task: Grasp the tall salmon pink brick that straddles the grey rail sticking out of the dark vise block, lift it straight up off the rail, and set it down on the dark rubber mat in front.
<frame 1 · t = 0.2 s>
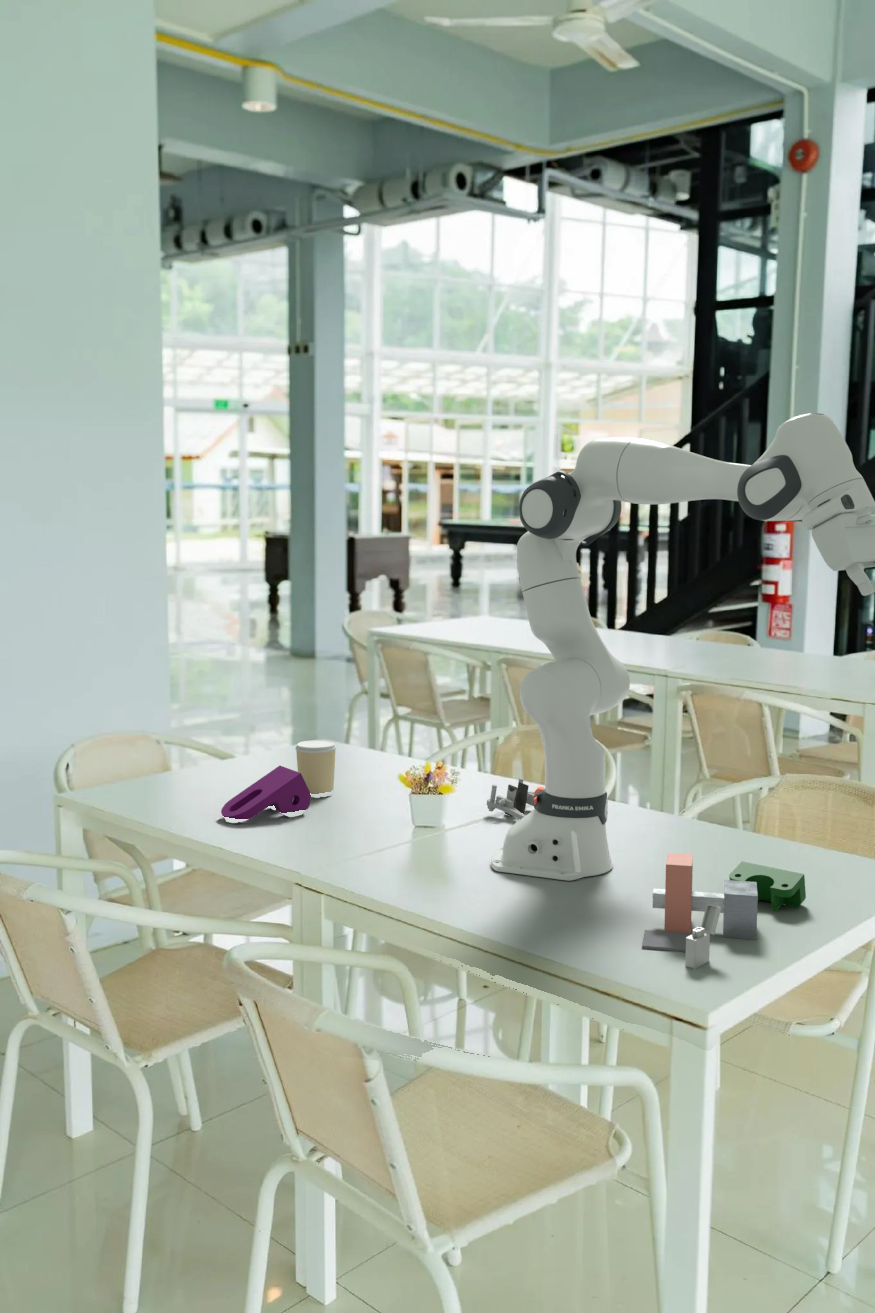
tall salmon pink brick: (678, 926, 190), on the table
lighter: (702, 962, 176), on the table
bike brake: (535, 820, 255), on the table
mounting bracket: (262, 818, 258), on the table
vise: (719, 929, 188), on the table
coffee cup: (316, 795, 277), on the table
mat: (666, 942, 183), on the table
clamp: (765, 905, 200), on the table
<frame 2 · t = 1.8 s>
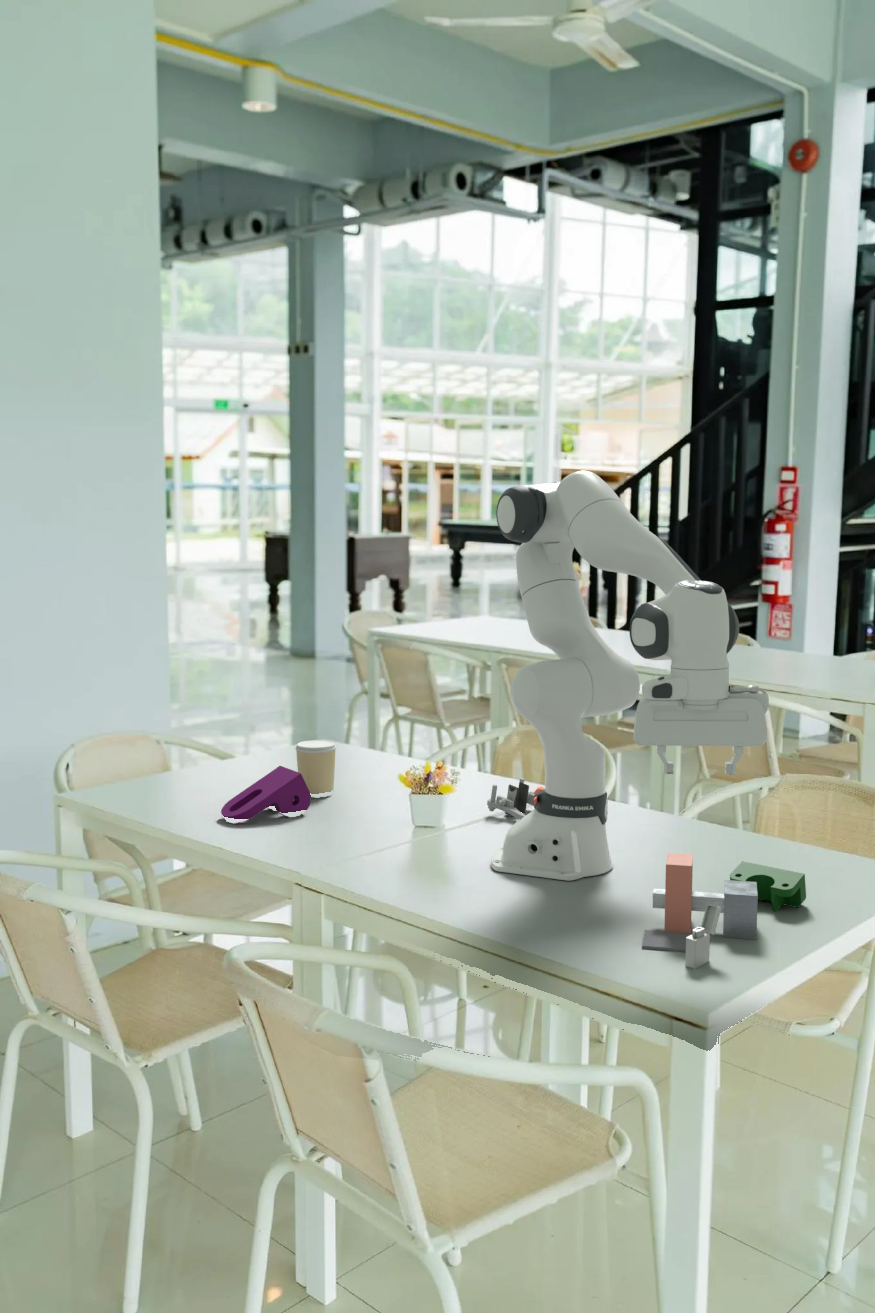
hand: (699, 773, 185), 25 cm above the table, tool pointing down, fingers open, 8 cm apart
nothing on the table moved.
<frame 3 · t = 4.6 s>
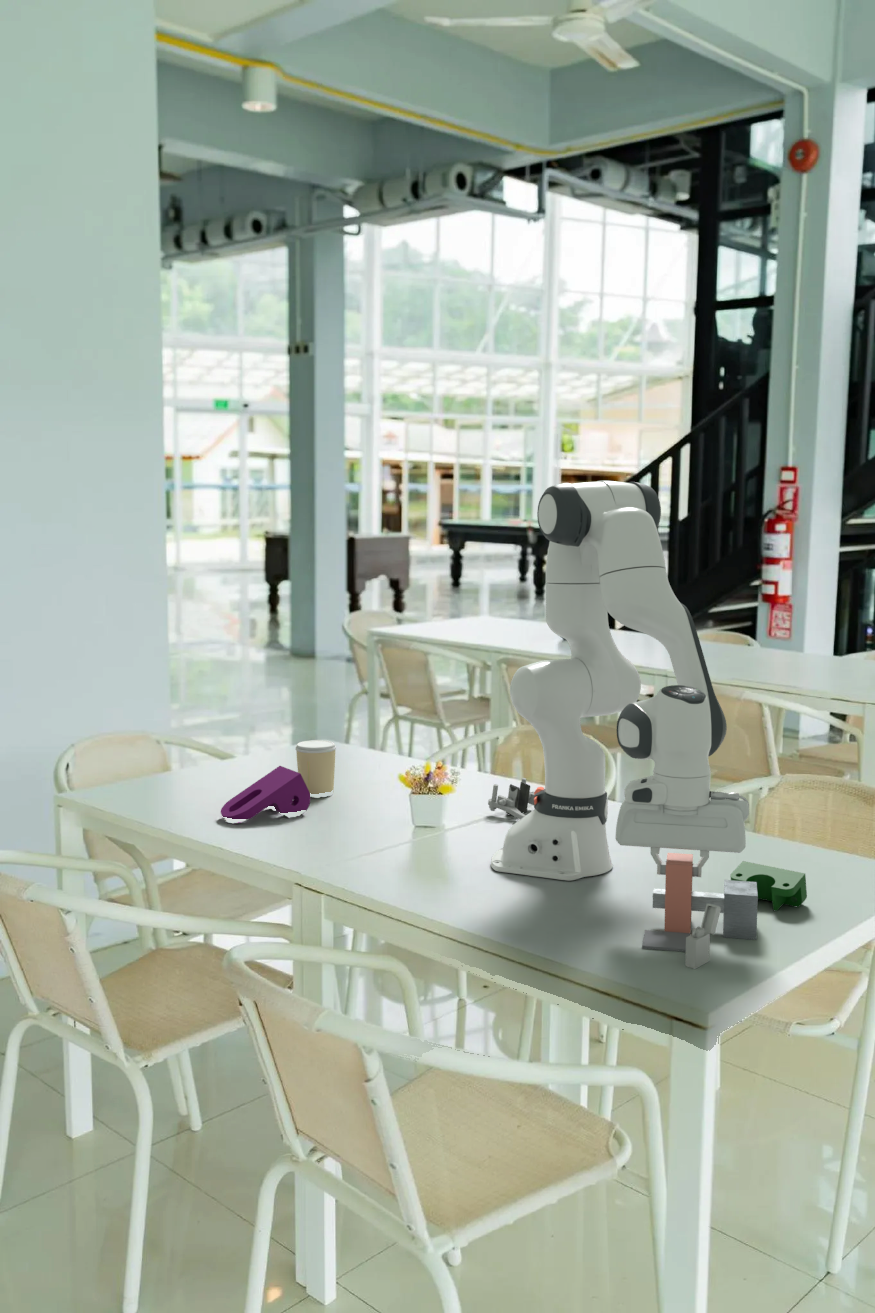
hand: (679, 875, 189), 8 cm above the table, tool pointing down, fingers closed on tall salmon pink brick, 4 cm apart
tall salmon pink brick: (678, 926, 190), on the table, touching gripper
everything else where it was.
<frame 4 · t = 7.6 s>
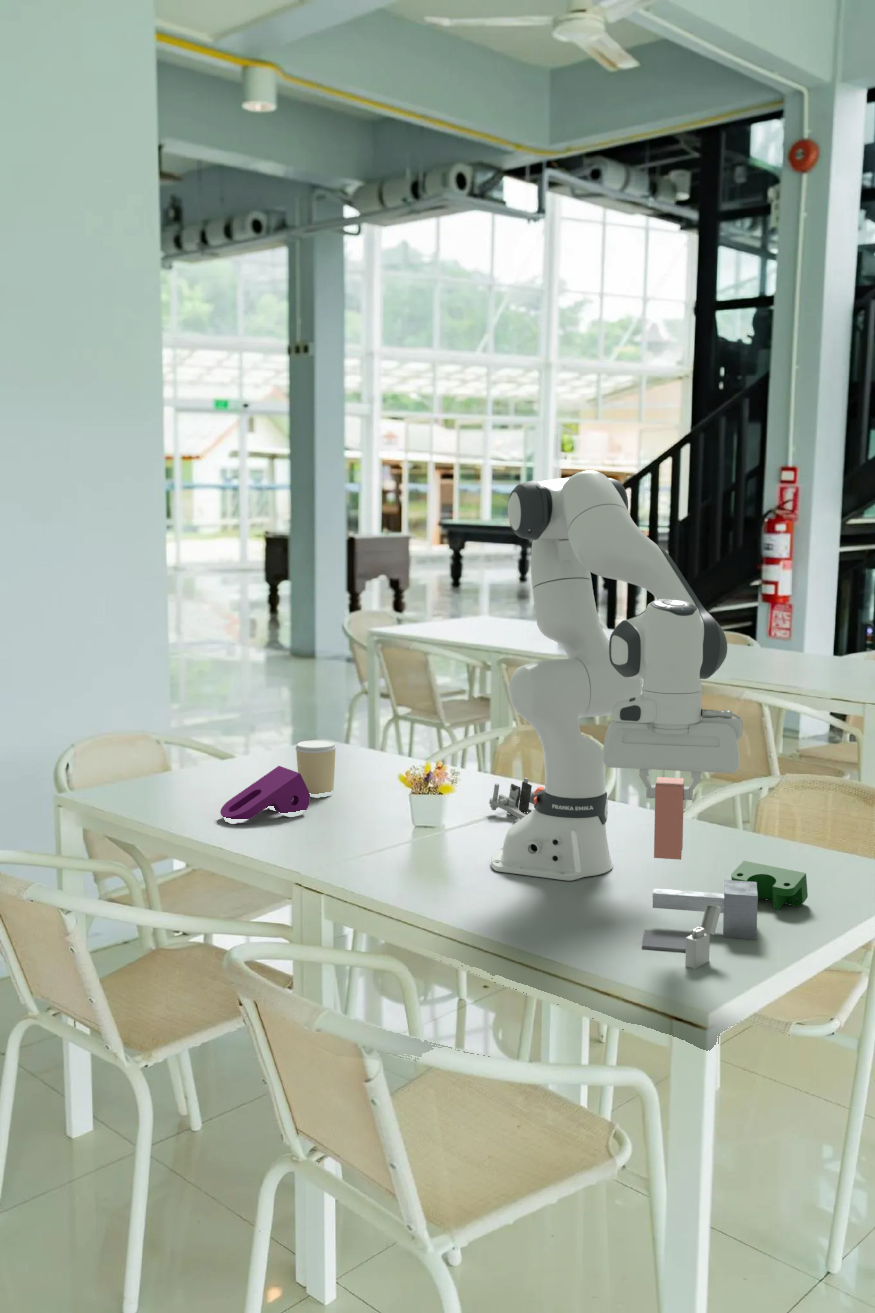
hand: (669, 798, 180), 23 cm above the table, tool pointing down, fingers closed on tall salmon pink brick, 4 cm apart
tall salmon pink brick: (668, 852, 181), point 14 cm above the table, touching gripper
everything else where it was.
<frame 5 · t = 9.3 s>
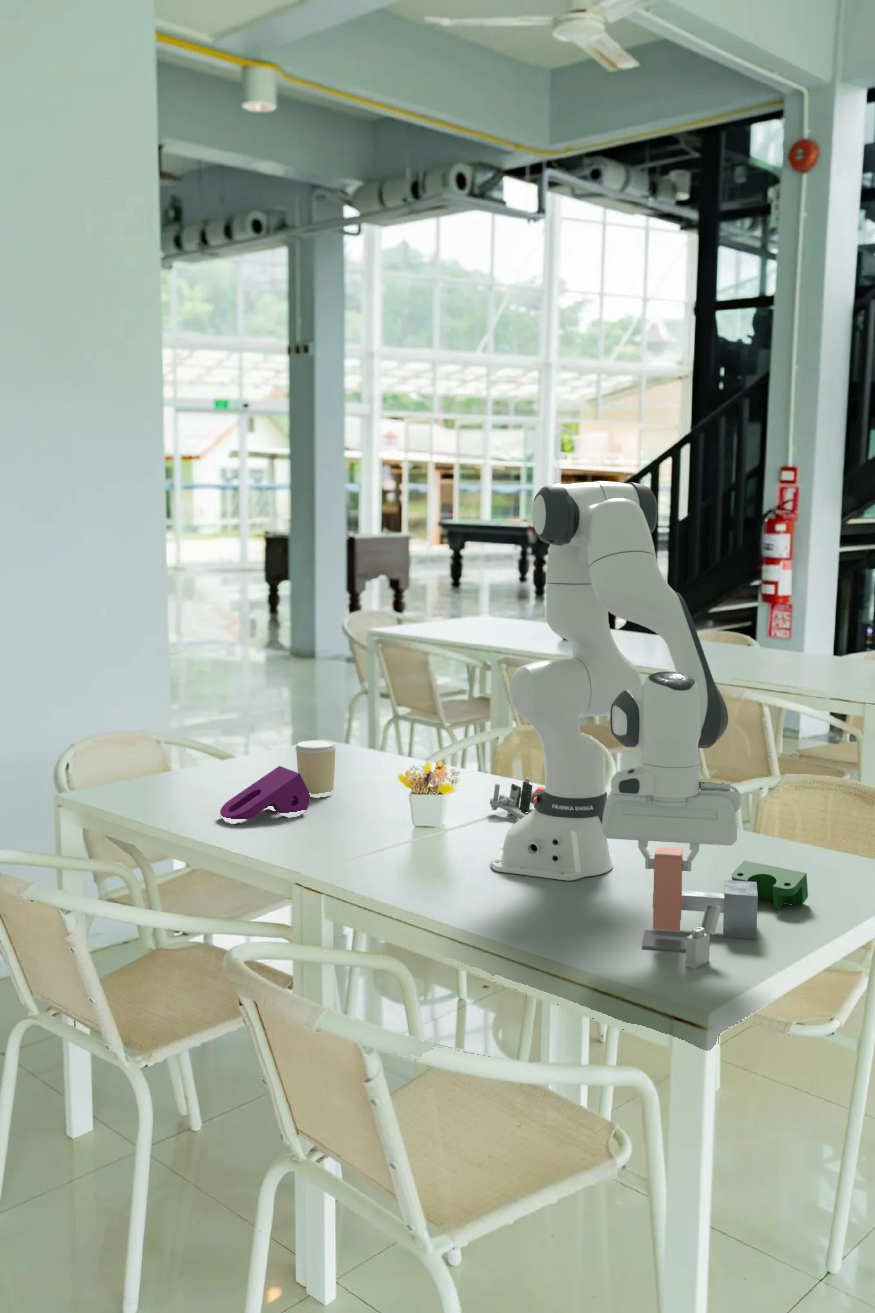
hand: (668, 869, 181), 12 cm above the table, tool pointing down, fingers closed on tall salmon pink brick, 4 cm apart
tall salmon pink brick: (667, 923, 182), point 3 cm above the table, touching gripper
everything else where it was.
when the fingers open (10 cm above the table, at t = 10.5 s): tall salmon pink brick stays where it is, resting on mat.
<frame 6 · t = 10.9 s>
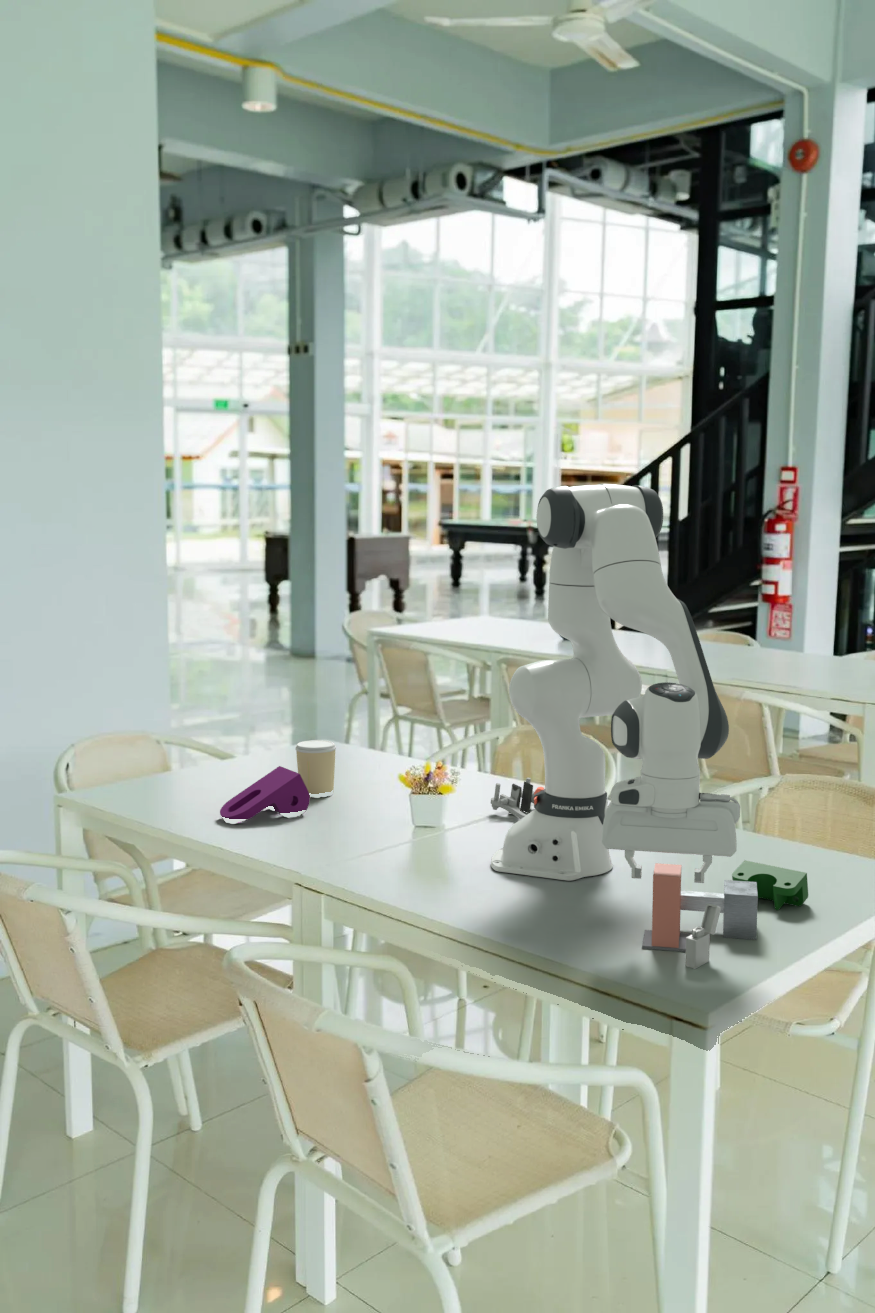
hand: (667, 879, 182), 10 cm above the table, tool pointing down, fingers open, 8 cm apart
tall salmon pink brick: (666, 939, 183), resting on mat
everything else where it was.
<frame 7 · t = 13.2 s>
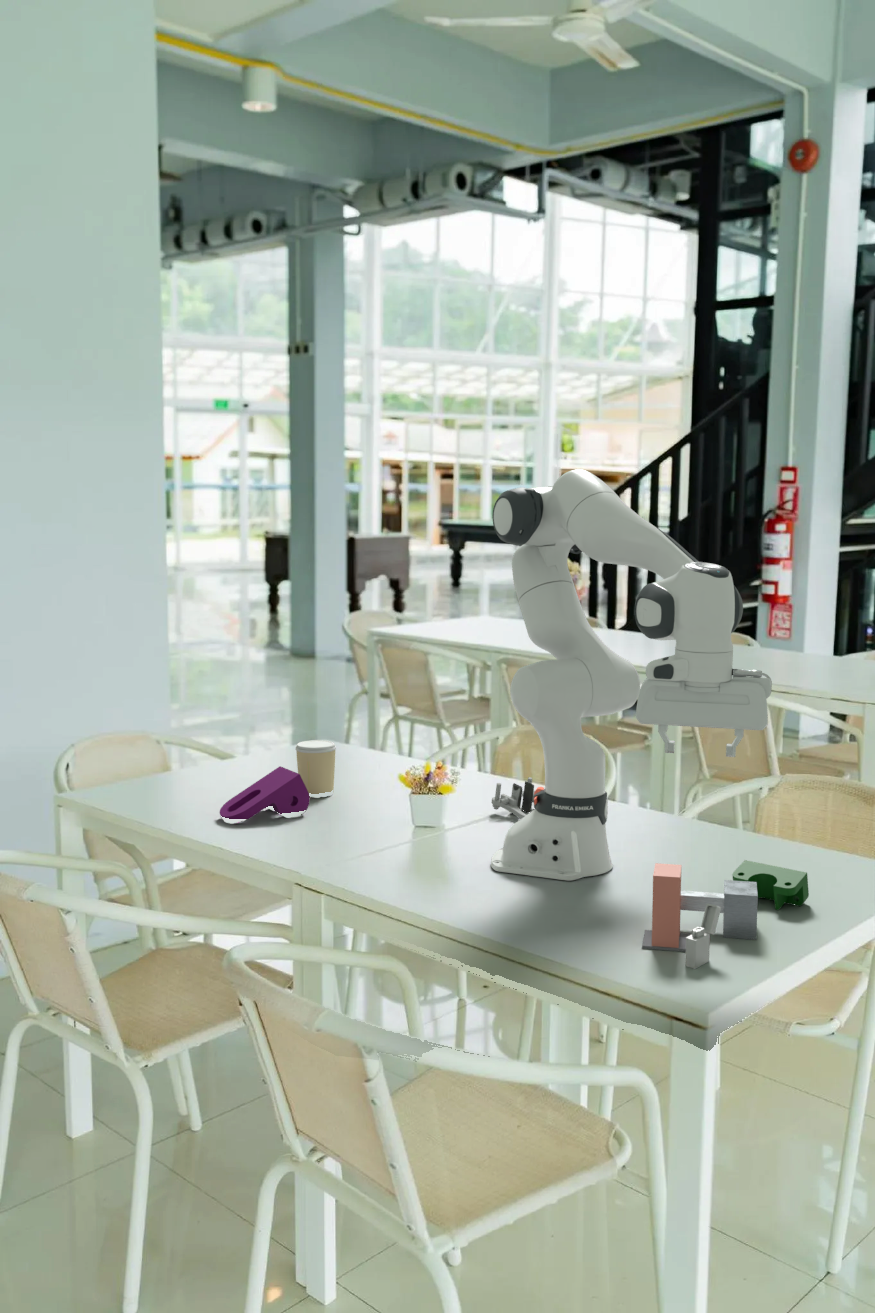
hand: (699, 754, 187), 28 cm above the table, tool pointing down, fingers open, 8 cm apart
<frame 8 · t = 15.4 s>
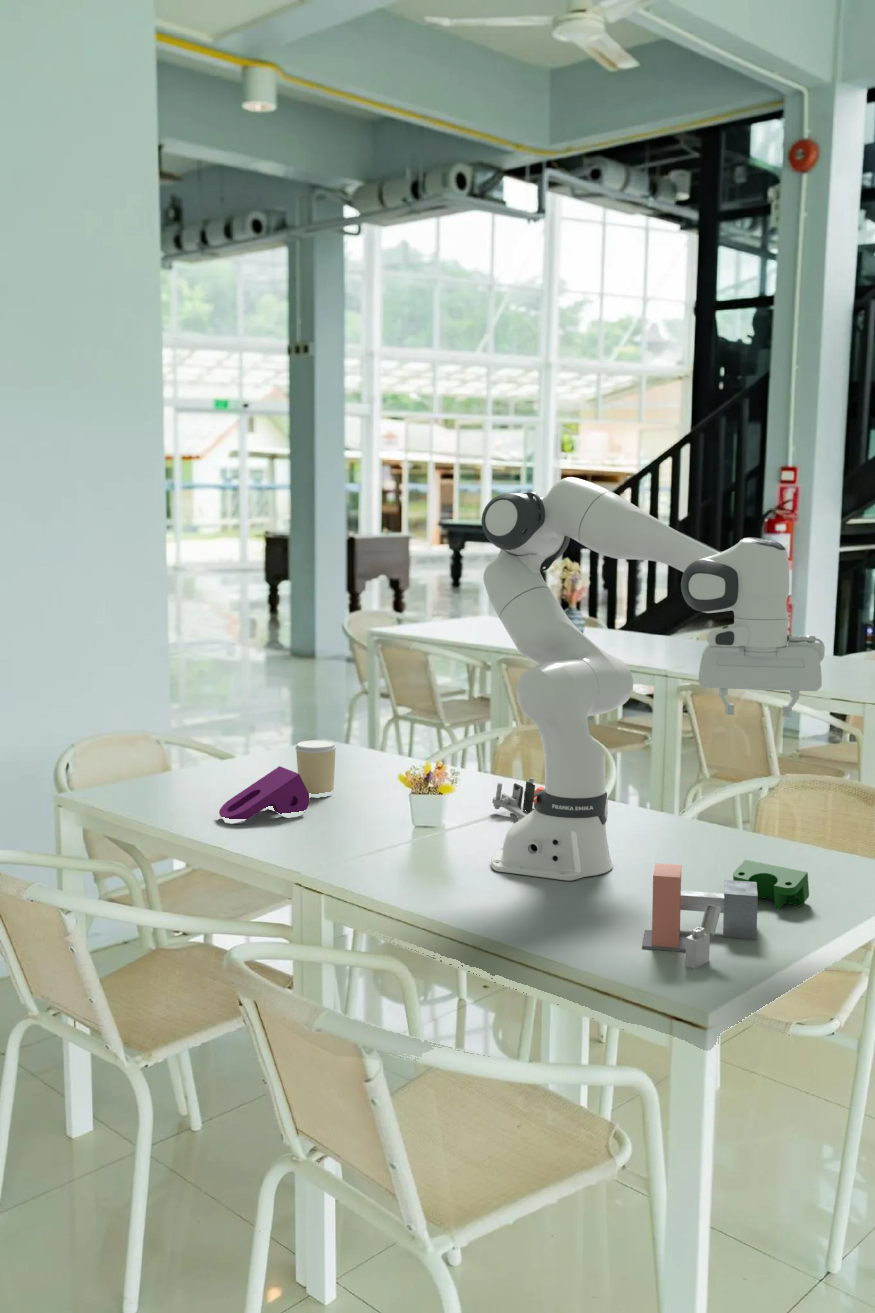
hand: (758, 715, 202), 31 cm above the table, tool pointing down, fingers open, 8 cm apart
at the end: tall salmon pink brick inside the target area (0.1 cm from its centre), resting on mat; tall salmon pink brick tilted 0°; tall salmon pink brick touching mat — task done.
